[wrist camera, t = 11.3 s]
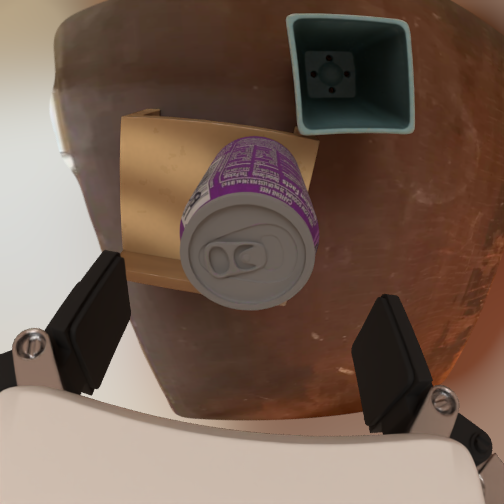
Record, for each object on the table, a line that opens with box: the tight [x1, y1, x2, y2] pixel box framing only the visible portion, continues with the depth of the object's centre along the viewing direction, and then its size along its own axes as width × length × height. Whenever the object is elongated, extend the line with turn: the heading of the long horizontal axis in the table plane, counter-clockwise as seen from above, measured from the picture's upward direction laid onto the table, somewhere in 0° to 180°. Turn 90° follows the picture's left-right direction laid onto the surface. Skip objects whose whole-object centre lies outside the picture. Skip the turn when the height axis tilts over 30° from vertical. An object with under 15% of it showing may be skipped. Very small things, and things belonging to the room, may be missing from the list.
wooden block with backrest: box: [120, 109, 319, 306], centre depth 27 cm, size 14×16×9 cm
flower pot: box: [286, 14, 415, 136], centre depth 21 cm, size 9×9×9 cm
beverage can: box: [180, 136, 319, 310], centre depth 19 cm, size 7×7×12 cm
